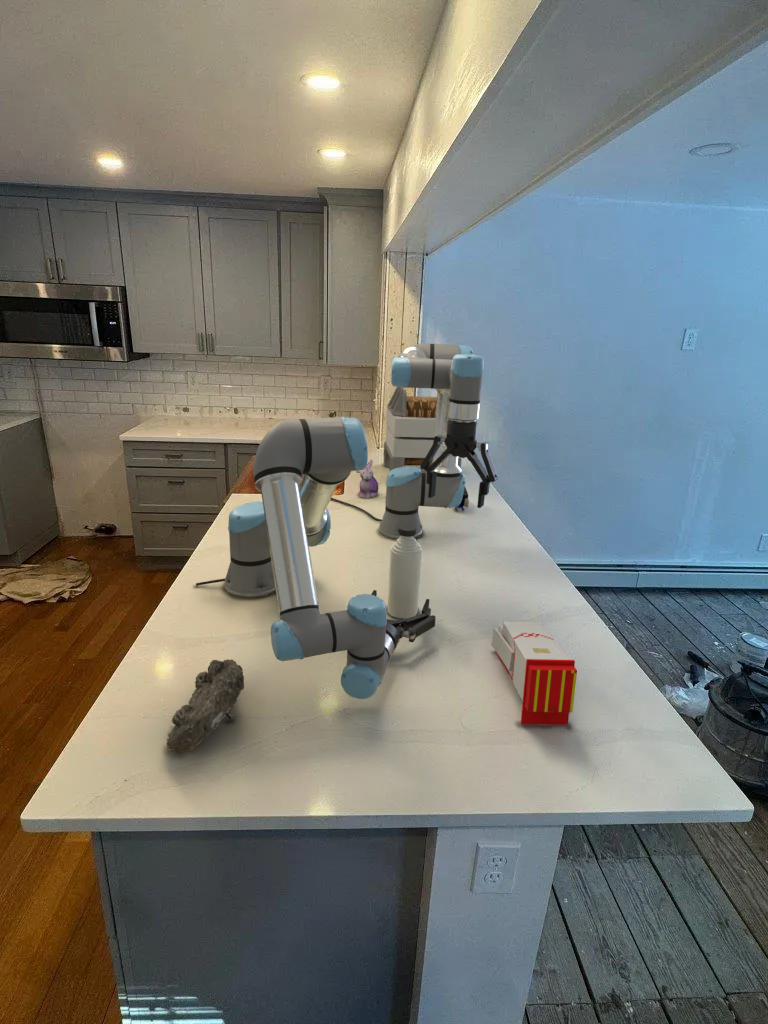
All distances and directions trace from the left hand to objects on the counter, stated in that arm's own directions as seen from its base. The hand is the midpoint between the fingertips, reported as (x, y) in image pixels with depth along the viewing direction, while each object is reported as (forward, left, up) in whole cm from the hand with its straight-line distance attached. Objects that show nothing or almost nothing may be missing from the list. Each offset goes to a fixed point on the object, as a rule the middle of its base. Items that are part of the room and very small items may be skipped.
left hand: (401, 599), depth 142 cm
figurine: (-36, +95, -6) cm, 102 cm away
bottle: (-1, +5, -6) cm, 8 cm away
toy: (+32, -16, -6) cm, 36 cm away
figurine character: (+2, +94, -6) cm, 94 cm away
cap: (-1, +5, +17) cm, 18 cm away
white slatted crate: (-23, +137, -6) cm, 139 cm away
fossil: (-26, -46, -6) cm, 53 cm away
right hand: (+10, +15, +22) cm, 29 cm away
